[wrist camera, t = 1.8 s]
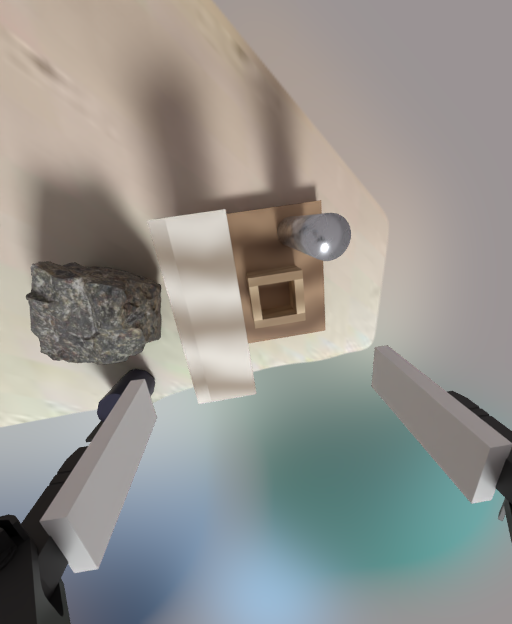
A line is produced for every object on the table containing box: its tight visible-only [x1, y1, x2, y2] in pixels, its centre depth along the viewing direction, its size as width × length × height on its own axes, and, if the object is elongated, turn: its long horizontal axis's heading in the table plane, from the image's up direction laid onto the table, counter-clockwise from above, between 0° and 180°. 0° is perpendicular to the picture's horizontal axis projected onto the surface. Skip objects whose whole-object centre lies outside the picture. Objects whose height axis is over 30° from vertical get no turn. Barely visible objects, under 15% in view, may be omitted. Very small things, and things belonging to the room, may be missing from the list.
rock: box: [26, 261, 161, 364], centre depth 33 cm, size 18×13×15 cm
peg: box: [277, 213, 351, 261], centre depth 27 cm, size 4×4×14 cm
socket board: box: [147, 200, 325, 404], centre depth 31 cm, size 20×20×14 cm
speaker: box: [86, 369, 155, 442], centre depth 38 cm, size 8×6×10 cm
